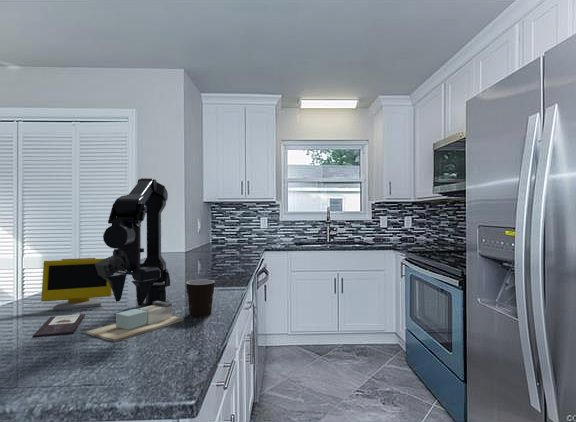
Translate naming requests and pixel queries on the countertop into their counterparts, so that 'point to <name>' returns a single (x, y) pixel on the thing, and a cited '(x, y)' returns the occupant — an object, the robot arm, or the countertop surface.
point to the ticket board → (155, 319)
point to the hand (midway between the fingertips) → (128, 303)
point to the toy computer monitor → (73, 283)
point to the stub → (131, 319)
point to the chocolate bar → (59, 325)
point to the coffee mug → (200, 297)
